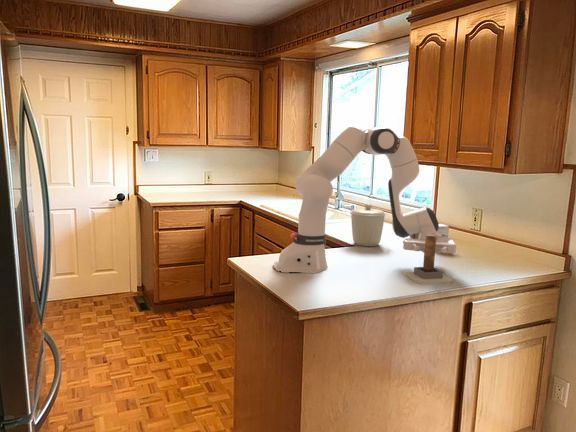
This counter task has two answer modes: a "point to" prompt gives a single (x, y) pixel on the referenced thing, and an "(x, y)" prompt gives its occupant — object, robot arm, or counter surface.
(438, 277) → the dowel holder
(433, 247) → the walnut dowel
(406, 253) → the counter surface
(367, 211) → the canister
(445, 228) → the supplement box
